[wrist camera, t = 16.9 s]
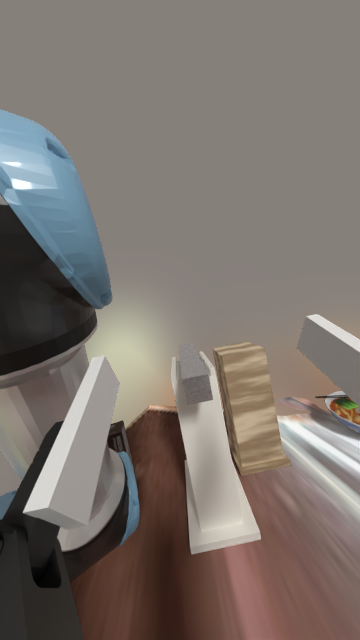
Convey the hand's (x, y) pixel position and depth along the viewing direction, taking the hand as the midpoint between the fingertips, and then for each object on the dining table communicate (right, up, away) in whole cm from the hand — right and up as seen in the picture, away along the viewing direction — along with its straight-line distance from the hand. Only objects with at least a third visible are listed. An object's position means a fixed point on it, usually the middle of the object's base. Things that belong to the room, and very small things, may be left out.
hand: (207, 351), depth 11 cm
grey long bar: (+1, -10, +28) cm, 30 cm away
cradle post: (+7, -42, +32) cm, 53 cm away
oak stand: (+21, -39, +42) cm, 61 cm away
